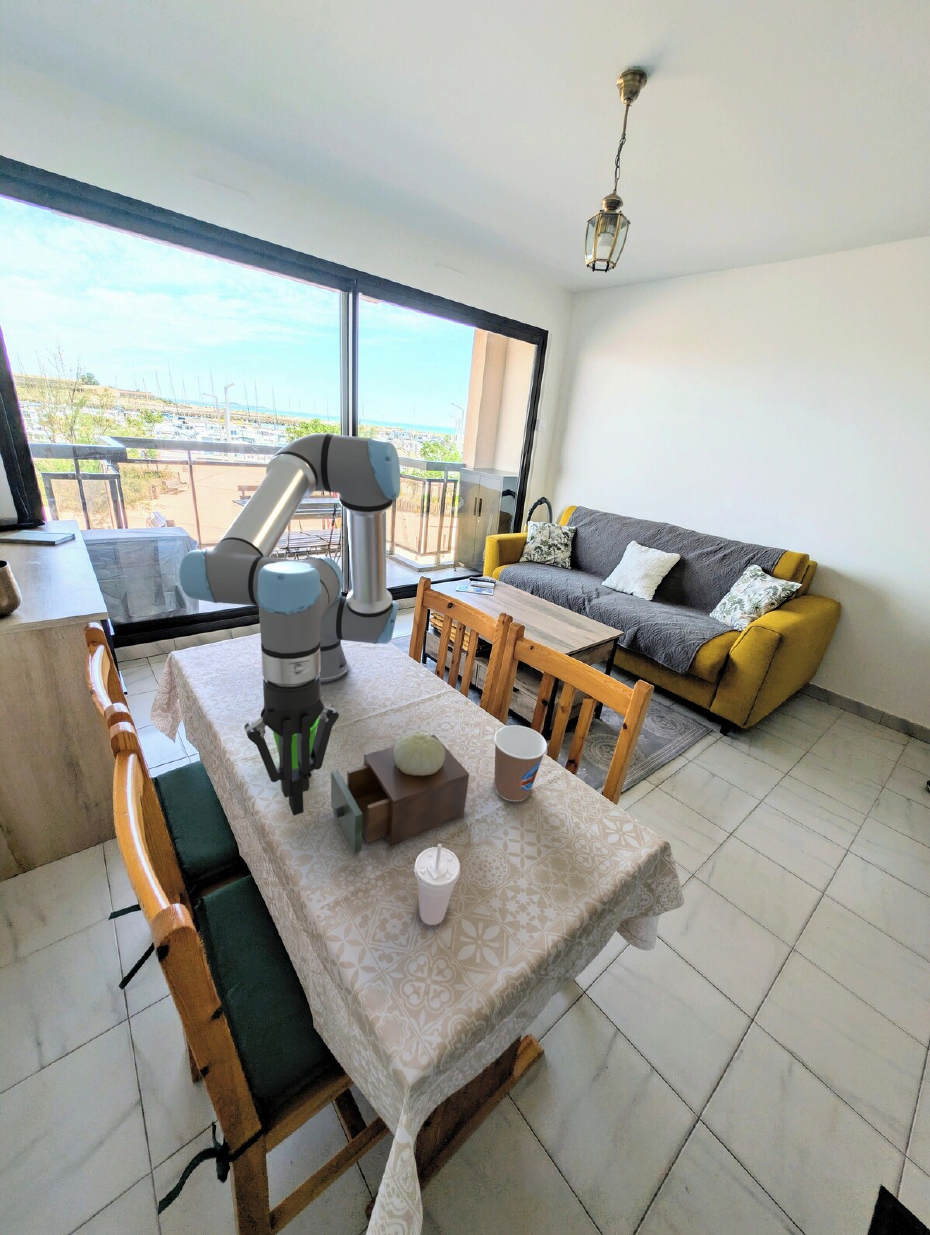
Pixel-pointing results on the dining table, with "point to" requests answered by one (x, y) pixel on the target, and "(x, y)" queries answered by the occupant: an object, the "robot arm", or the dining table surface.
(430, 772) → the sea urchin shell
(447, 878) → the smoothie
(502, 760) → the coffee cup
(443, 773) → the cabinet
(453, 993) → the dining table surface
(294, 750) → the cup
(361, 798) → the drawer
